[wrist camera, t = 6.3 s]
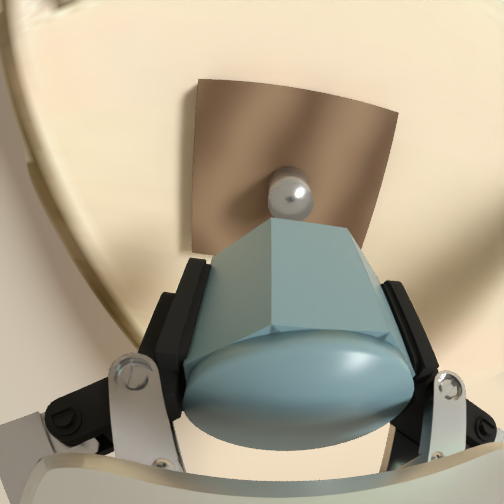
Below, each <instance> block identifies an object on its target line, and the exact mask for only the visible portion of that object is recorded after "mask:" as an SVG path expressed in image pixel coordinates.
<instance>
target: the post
mask: <svg viewBox="0 0 504 504" xmlns="http://www.w3.org/2000/svg"><path fill="white" fill-rule="evenodd" d="M313 205H314V200H313V196H312V193H311V190H310V187H309V184H308V181H307V178H306V176H305V174H304V173H303V172H302V171H301V170H300V169H299V168H297V167H294V166H283V167H280V168H278V169H277V170H275V171H274V172H273V173H272V175H271V177H270V180H269V195H268V207H269V210H270V212H271V214H272V215H273V216H274V217H275V218H279V219H287V220H294V221H303V220H304V219H306V218H307V217H308V216H309V215H310V213H311V212H312V209H313Z"/></svg>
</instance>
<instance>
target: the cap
mask: <svg viewBox="0 0 504 504" xmlns="http://www.w3.org/2000/svg"><path fill="white" fill-rule="evenodd" d="M184 371H185V378H186V389H185V394H184V398H183V409H184V412H185V414H186V416H187V417H188V419H189V420H190V421H191V422H192V423H193V424H194V425H195V426H196V427H198V428H199V429H200V430H202V431H204V432H205V433H207V434H209V435H211V436H213V437H215V438H217V439H220V440H223V441H225V442H228V443H232V444H235V445H239V446H244V447H249V448H255V449H262V450H276V451H295V450H307V449H315V448H322V447H327V446H332V445H337V444H340V443H344V442H347V441H350V440H353V439H356V438H359V437H361V436H364V435H366V434H368V433H370V432H373V431H375V430H377V429H378V428H380V427H382V426H384V425H385V424H387V423H388V422H390V421H391V420H392V419H394V418H395V417H396V416H397V415H399V414H400V413H401V412H402V411H403V409H404V408H405V407H406V406H407V404H408V403H409V402H410V400H411V398H412V396H413V392H414V382H413V379H412V378H413V377H414V376H415V372H414V370H413V367H412V364H411V361H410V358H409V356H408V353H407V350H406V347H405V344H404V342H403V339H402V336H401V334H400V331H399V329H398V326H397V323H396V321H395V318H394V316H393V313H392V311H391V308H390V306H389V304H388V301H387V299H386V296H385V294H384V292H383V289H382V287H381V284H380V282H379V280H378V277H377V276H376V274H375V272H374V271H373V269H372V267H371V266H370V264H369V262H368V261H367V259H366V257H365V256H364V254H363V253H362V251H361V249H360V248H359V246H358V245H357V243H356V241H355V240H354V238H353V237H352V235H351V234H350V232H349V230H348V229H347V228H343V227H336V226H330V225H323V224H316V223H309V222H302V221H294V220H287V219H279V218H270V219H268V220H267V221H265V222H264V223H262V224H261V225H259V226H258V227H256V228H255V229H253V230H252V231H250V232H249V233H247V234H246V235H245V236H243V237H242V238H240V239H239V240H237V241H236V242H234V243H233V244H231V245H230V246H228V247H227V248H225V249H224V250H223V251H221V252H220V253H218V254H217V255H215V256H214V257H213V258H212V261H211V269H210V273H209V276H208V280H207V283H206V287H205V291H204V294H203V298H202V302H201V305H200V309H199V313H198V316H197V320H196V324H195V328H194V332H193V336H192V339H191V343H190V347H189V351H188V355H187V359H185V360H184Z"/></svg>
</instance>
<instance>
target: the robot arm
mask: <svg viewBox="0 0 504 504" xmlns="http://www.w3.org/2000/svg"><path fill="white" fill-rule="evenodd" d="M210 269H211V264H206V260H205V259H197V258H189V260H188V263H187V265H186V268H185V270H184V273H183V275H182V278H181V280H180V283H179V286H178V288H177V291H176V293H168V292H163V293H162V295H161V297H160V299H159V301H158V304H157V306H156V308H155V311H154V313H153V316H152V318H151V320H150V323H149V325H148V328H147V330H146V333H145V335H144V338H143V340H142V343H141V345H140V348H139V351H138V353H130V354H125V355H122V356H121V357H119V358H117V359H116V360H115V361H114V362H113V363H112V365H111V367H110V369H109V374H108V377H106V378H104V379H102V380H100V381H97V382H95V383H93V384H91V385H88V386H86V387H84V388H81V389H79V390H77V391H74V392H72V393H70V394H67V395H65V396H63V397H60V398H58V399H56V400H54V401H53V402H51V404H50V405H49V406H48V407H47V409H46V412H44V413H41V414H40V413H39V412H35V413H33V414H30V415H27V416H24V417H22V418H19V419H16V420H14V421H11V422H8V423H5V424H2V425H0V477H1V480H2V483H3V486H4V489H5V491H6V493H7V496H8V499H9V501H10V503H11V504H504V431H503V430H501V429H500V428H497V427H496V424H495V421H494V420H493V418H492V417H491V416H490V415H488V414H487V413H486V412H484V411H483V410H481V409H480V408H479V407H477V406H476V405H474V404H473V403H472V402H470V401H469V400H467V399H466V391H465V386H464V383H463V381H462V380H461V378H460V377H459V376H458V375H457V374H455V373H454V372H451V371H447V370H444V371H441V372H438V369H437V368H438V367H439V364H438V362H437V359H436V357H435V354H434V352H433V350H432V347H431V345H430V342H429V340H428V338H427V335H426V333H425V331H424V329H423V326H422V324H421V322H420V320H419V318H418V316H417V313H416V311H415V309H414V307H413V305H412V303H411V301H410V299H409V297H408V295H407V293H406V291H405V289H404V287H403V285H402V283H401V282H399V281H389V280H387V281H385V282H384V284H381V287H382V289H383V292H384V294H385V296H386V299H387V301H388V304H389V306H390V308H391V311H392V313H393V316H394V318H395V321H396V323H397V326H398V329H399V331H400V334H401V336H402V339H403V342H404V344H405V347H406V350H407V353H408V356H409V358H410V361H411V364H412V367H413V370H414V372H415V376H414V377H413V378H412V379H413V382H414V392H413V396H412V398H411V400H410V402H409V403H408V404H407V406H406V407H405V408H404V409H403V411H402V412H401V413H400V414H399V415H397V416H396V417H395V418H394V419H392V420H391V421H390V428H389V433H388V438H387V442H386V447H385V451H384V455H383V460H382V464H381V467H380V471H379V473H377V474H371V475H365V476H357V477H350V478H341V479H330V480H317V481H251V480H238V479H227V478H218V477H211V476H203V475H197V474H190V473H186V470H185V467H184V463H183V459H182V456H181V452H180V448H179V444H178V440H177V436H176V431H175V427H174V423H173V421H174V420H176V419H178V418H180V417H181V412H182V411H184V409H183V398H184V394H185V389H186V378H185V371H184V360H185V359H187V355H188V351H189V347H190V343H191V339H192V336H193V332H194V328H195V324H196V320H197V316H198V313H199V309H200V305H201V302H202V298H203V294H204V291H205V287H206V283H207V280H208V276H209V273H210ZM113 451H114V452H115V458H114V457H108V456H104V455H106V454H109V453H111V452H113Z"/></svg>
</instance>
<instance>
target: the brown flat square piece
mask: <svg viewBox="0 0 504 504" xmlns="http://www.w3.org/2000/svg"><path fill="white" fill-rule="evenodd" d="M397 118H398V113H397V112H394V111H391V110H388V109H385V108H381V107H378V106H375V105H371V104H367V103H364V102H360V101H356V100H352V99H348V98H344V97H340V96H335V95H331V94H326V93H321V92H316V91H311V90H305V89H299V88H293V87H286V86H280V85H272V84H264V83H255V82H244V81H231V80H212V79H198V90H197V103H196V118H195V134H194V155H193V184H192V252H194V253H201V254H209V255H217V254H218V253H220V252H221V251H223V250H224V249H225V248H227V247H228V246H230V245H231V244H233V243H234V242H236V241H237V240H239V239H240V238H242V237H243V236H245V235H246V234H247V233H249V232H250V231H252V230H253V229H255V228H256V227H258V226H259V225H261V224H262V223H264V222H265V221H267V220H268V219H270V218H275V217H274V216H273V215H272V214H271V212H270V210H269V207H268V195H269V180H270V177H271V175H272V173H273V172H274V171H275V170H277V169H278V168H280V167H283V166H294V167H297V168H299V169H300V170H301V171H302V172H303V173H304V174H305V176H306V178H307V181H308V184H309V187H310V190H311V193H312V196H313V200H314V205H313V209H312V212H311V213H310V215H309V216H308V217H307V218H306V219H304V220H303V221H302V222H309V223H316V224H323V225H330V226H336V227H343V228H347V229H348V230H349V232H350V234H351V235H352V237H353V238H354V240H355V241H356V243H357V245H358V246H359V248H360V249H361V248H362V245H363V242H364V239H365V236H366V233H367V230H368V227H369V224H370V221H371V217H372V214H373V211H374V208H375V205H376V201H377V198H378V194H379V191H380V187H381V184H382V180H383V177H384V173H385V169H386V165H387V162H388V158H389V154H390V149H391V145H392V141H393V137H394V132H395V128H396V123H397Z"/></svg>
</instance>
